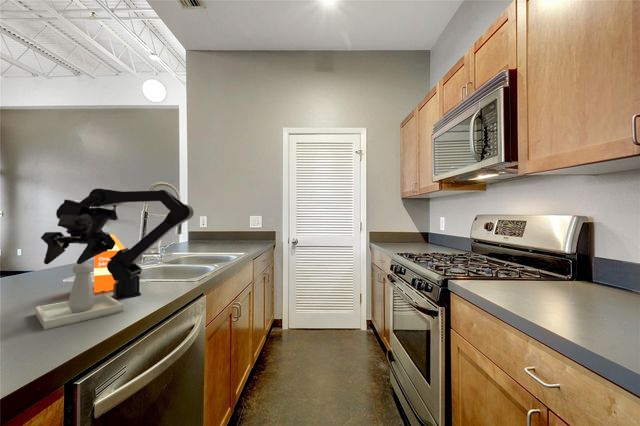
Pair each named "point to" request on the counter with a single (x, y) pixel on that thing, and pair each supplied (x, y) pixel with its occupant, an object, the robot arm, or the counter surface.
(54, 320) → the tray
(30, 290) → the counter surface
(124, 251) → the robot arm
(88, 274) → the salt shaker
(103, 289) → the orange juice
